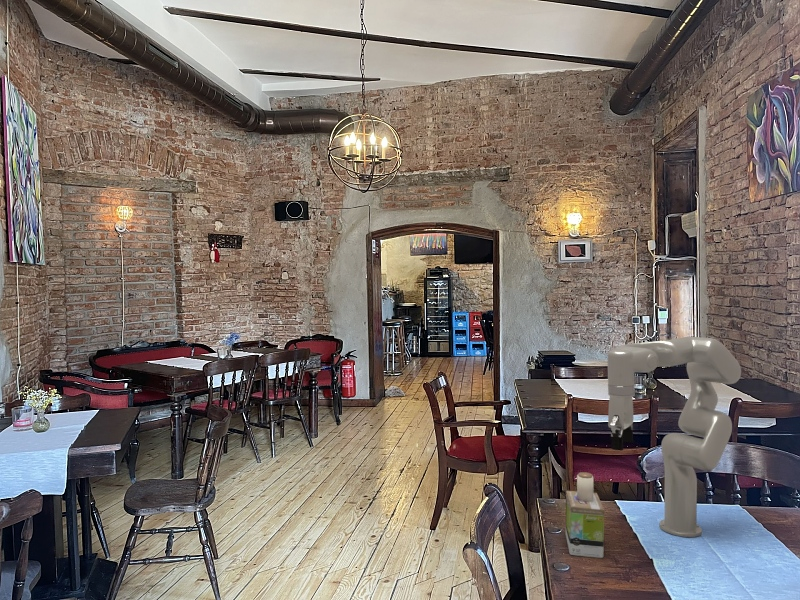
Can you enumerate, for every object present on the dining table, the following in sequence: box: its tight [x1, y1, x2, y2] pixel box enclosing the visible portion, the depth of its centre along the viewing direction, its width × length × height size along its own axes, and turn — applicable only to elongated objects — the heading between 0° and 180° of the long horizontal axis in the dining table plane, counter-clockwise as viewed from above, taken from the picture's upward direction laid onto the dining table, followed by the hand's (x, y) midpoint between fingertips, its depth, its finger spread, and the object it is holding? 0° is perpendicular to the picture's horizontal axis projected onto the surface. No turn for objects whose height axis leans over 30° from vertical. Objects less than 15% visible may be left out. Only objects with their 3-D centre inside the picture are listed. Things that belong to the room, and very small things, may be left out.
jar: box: [576, 471, 595, 502], centre depth 173 cm, size 5×5×8 cm
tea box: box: [564, 490, 605, 559], centre depth 173 cm, size 15×10×15 cm
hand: (622, 445), depth 172 cm, fingers open, 9 cm apart
